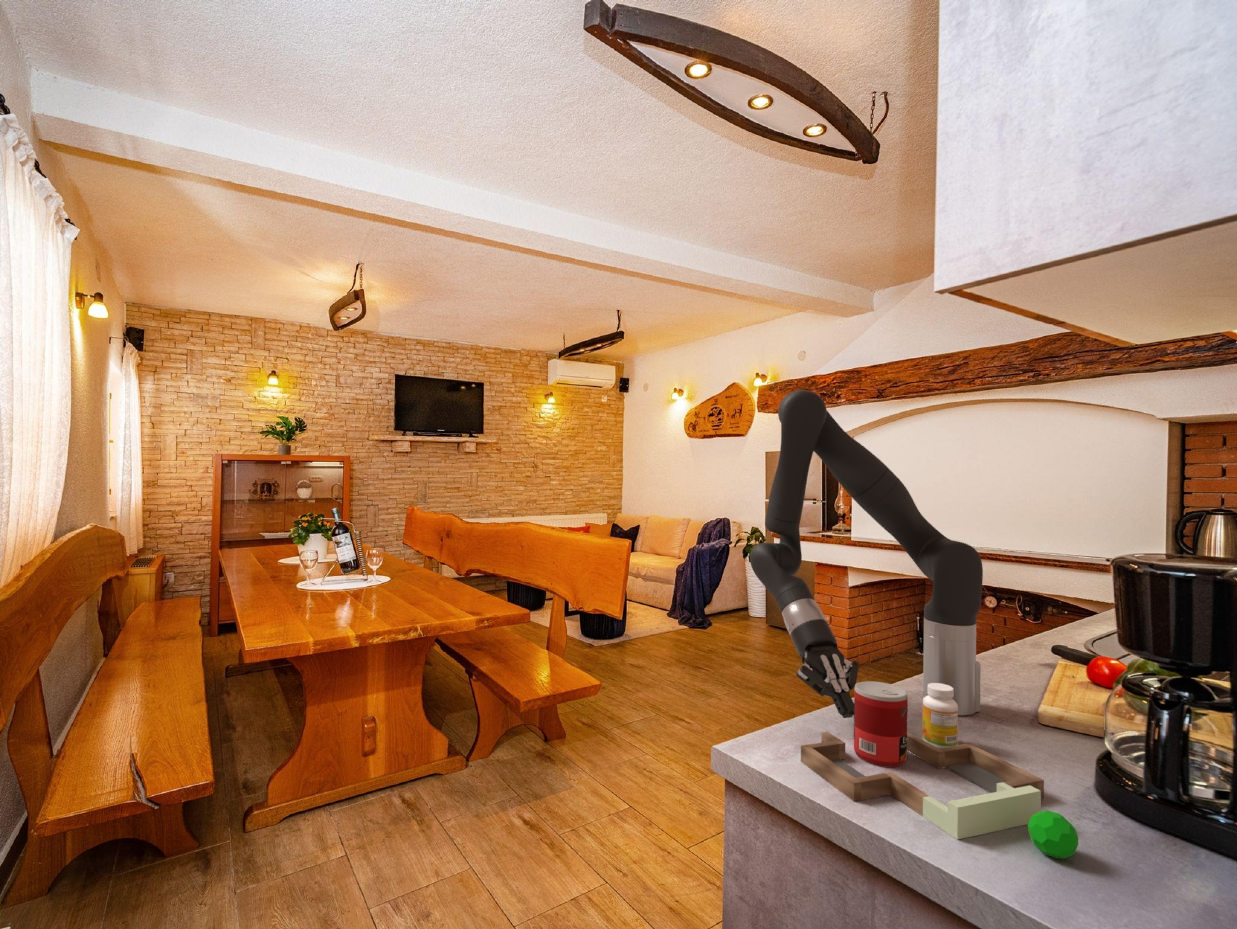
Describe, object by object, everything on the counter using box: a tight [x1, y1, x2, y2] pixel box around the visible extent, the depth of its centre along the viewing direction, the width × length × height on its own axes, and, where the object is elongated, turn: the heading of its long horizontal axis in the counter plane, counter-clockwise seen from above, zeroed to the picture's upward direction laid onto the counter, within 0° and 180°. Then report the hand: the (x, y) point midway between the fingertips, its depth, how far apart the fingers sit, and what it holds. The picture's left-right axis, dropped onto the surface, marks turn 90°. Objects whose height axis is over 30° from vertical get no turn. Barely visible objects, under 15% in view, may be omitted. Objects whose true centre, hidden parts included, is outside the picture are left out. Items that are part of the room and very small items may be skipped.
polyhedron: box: [1027, 809, 1079, 860], centre depth 74 cm, size 5×5×5 cm
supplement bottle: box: [921, 683, 959, 748], centre depth 105 cm, size 5×5×10 cm
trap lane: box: [800, 731, 1045, 817], centre depth 94 cm, size 23×27×2 cm
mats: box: [830, 758, 1007, 793], centre depth 92 cm, size 17×24×1 cm
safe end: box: [922, 782, 1042, 840], centre depth 82 cm, size 6×14×4 cm, turn 109°
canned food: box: [853, 680, 909, 768], centre depth 100 cm, size 8×8×11 cm
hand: (850, 715), depth 106 cm, fingers closed
